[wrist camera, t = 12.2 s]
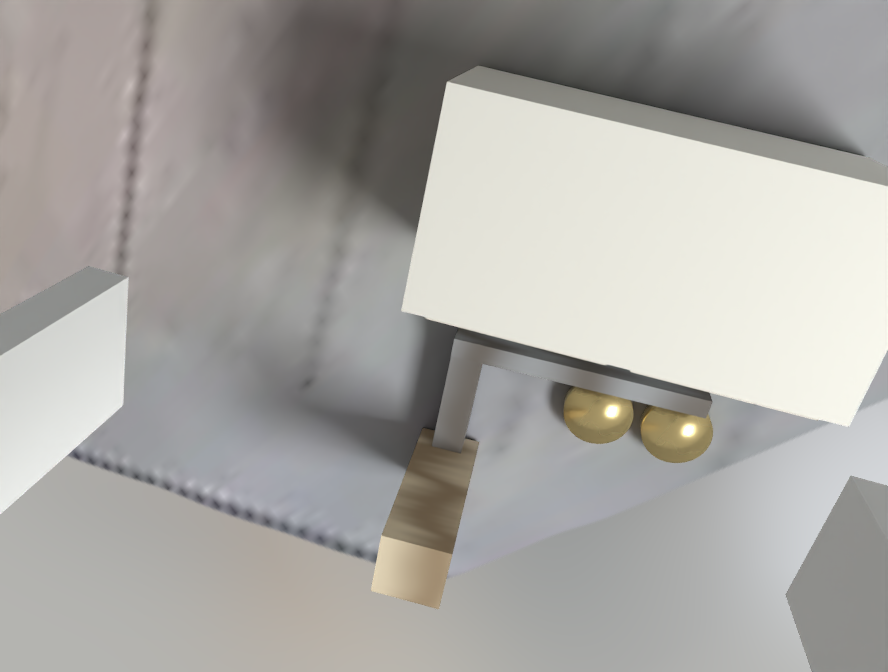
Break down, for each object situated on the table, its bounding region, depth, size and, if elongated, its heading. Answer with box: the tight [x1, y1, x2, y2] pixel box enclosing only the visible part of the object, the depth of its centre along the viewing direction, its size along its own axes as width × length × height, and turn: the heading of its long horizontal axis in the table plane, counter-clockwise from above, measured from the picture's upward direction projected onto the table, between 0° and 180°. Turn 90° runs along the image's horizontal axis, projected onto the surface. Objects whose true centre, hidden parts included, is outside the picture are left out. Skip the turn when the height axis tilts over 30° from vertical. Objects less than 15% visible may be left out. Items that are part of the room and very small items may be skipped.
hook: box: [371, 328, 712, 609], centre depth 46 cm, size 17×12×12 cm
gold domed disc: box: [640, 405, 713, 463], centre depth 49 cm, size 4×4×1 cm
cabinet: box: [401, 66, 888, 427], centre depth 40 cm, size 22×11×11 cm, turn 78°
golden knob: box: [564, 386, 633, 444], centre depth 50 cm, size 4×4×1 cm
